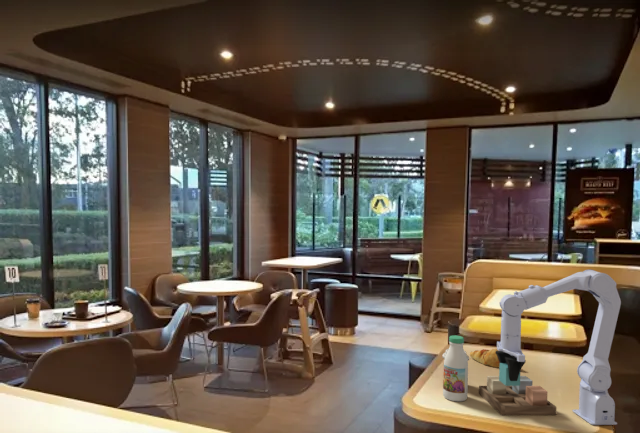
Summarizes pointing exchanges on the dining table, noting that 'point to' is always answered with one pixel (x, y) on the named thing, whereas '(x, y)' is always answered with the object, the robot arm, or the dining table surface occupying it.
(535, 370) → the dining table surface
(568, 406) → the dining table surface
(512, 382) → the teal block
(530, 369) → the dining table surface
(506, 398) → the puzzle board
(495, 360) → the croissant
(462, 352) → the milk bottle
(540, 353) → the dining table surface
